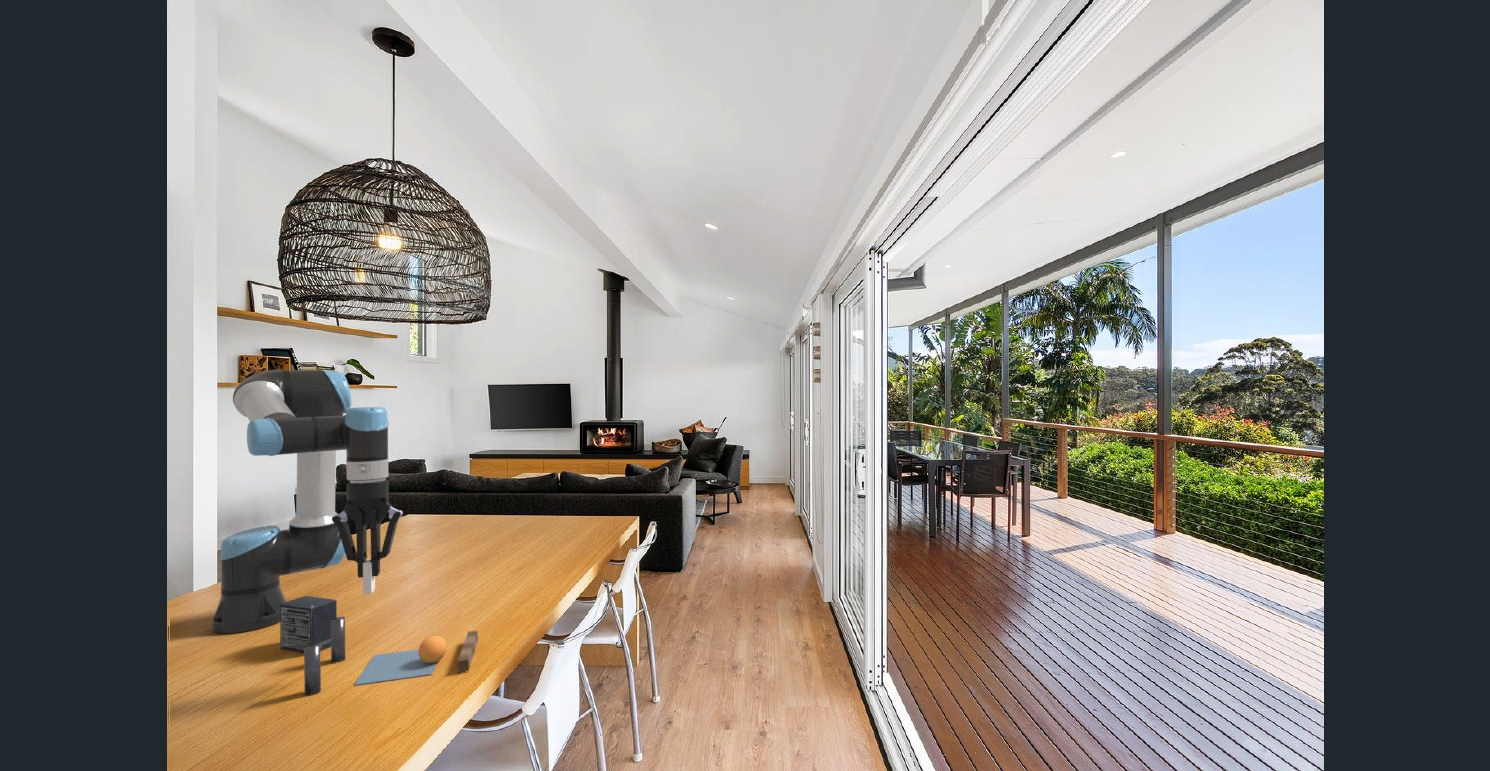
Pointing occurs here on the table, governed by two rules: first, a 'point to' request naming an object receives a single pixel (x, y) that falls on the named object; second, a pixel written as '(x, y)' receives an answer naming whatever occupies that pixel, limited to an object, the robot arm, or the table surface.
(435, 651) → the ball
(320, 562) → the robot arm
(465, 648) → the stopper wall
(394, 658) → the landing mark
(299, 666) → the table surface
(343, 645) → the post
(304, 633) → the small box
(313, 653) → the post
